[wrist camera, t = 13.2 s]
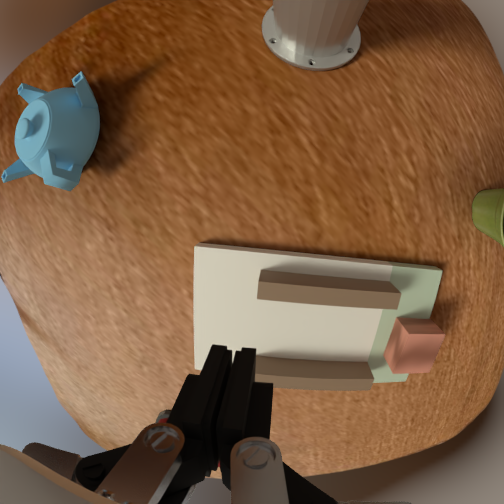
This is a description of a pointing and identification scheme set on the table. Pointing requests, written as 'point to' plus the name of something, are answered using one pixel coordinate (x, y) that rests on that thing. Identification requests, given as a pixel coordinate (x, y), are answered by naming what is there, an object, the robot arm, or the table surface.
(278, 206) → the table surface
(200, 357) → the board with rails
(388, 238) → the table surface
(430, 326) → the block
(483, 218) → the plant pot
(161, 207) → the table surface
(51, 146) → the teapot
